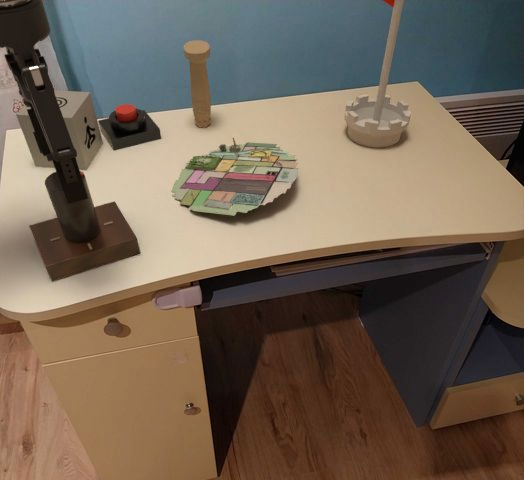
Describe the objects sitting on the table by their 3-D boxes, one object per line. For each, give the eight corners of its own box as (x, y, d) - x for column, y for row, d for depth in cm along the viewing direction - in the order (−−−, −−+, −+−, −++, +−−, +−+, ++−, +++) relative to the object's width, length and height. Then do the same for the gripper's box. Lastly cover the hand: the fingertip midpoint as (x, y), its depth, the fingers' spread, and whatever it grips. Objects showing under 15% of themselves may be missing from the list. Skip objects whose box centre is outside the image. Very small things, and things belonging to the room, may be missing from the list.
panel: (52, 281, 75) (45, 265, 72) (35, 240, 81) (28, 224, 78) (140, 253, 79) (136, 237, 76) (118, 216, 85) (114, 200, 82)
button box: (100, 130, 103) (95, 111, 100) (146, 120, 106) (142, 101, 103) (114, 150, 98) (109, 131, 95) (161, 139, 101) (158, 119, 98)
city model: (180, 157, 101) (173, 128, 96) (295, 144, 99) (294, 114, 94) (167, 237, 85) (158, 207, 81) (303, 223, 83) (302, 192, 79)
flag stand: (398, 118, 108) (437, -56, 84) (411, 149, 100) (459, -34, 76) (338, 119, 107) (361, -56, 84) (347, 150, 99) (375, -34, 76)
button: (114, 115, 100) (112, 106, 99) (133, 111, 101) (131, 102, 100) (120, 124, 98) (118, 115, 96) (140, 119, 99) (138, 110, 98)
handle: (191, 132, 103) (182, 53, 91) (192, 117, 107) (184, 40, 96) (214, 132, 103) (209, 53, 92) (214, 117, 107) (209, 40, 96)
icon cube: (35, 166, 94) (16, 114, 87) (55, 140, 101) (38, 89, 93) (86, 170, 94) (71, 118, 86) (103, 143, 100) (90, 92, 92)
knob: (69, 247, 75) (49, 193, 68) (59, 226, 78) (39, 173, 71) (105, 236, 77) (89, 182, 69) (94, 216, 80) (78, 163, 72)
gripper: (68, 27, 47) (118, 214, 64) (16, -37, 61) (67, 130, 78) (-13, 41, 45) (59, 231, 62) (-49, -29, 59) (18, 141, 75)
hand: (64, 175), depth 70 cm, fingers open, 13 cm apart
